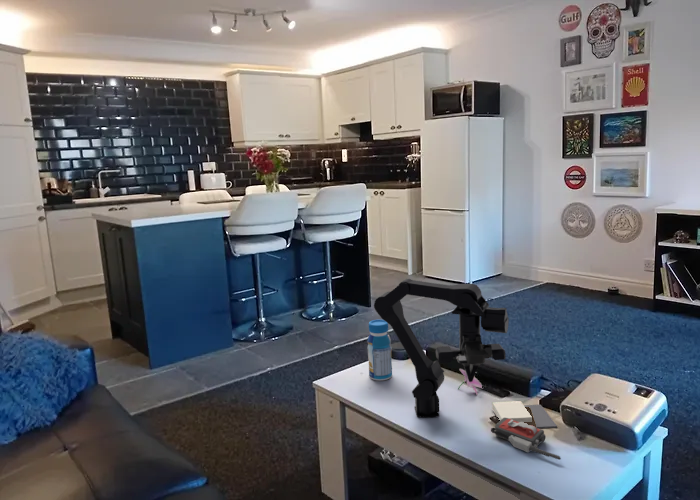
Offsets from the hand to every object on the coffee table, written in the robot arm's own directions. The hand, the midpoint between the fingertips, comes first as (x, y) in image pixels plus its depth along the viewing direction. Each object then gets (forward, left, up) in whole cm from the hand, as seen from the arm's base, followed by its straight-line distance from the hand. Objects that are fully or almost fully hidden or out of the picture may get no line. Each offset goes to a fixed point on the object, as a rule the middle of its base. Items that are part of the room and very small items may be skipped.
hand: (470, 381), depth 154 cm
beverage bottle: (-24, +34, -12) cm, 43 cm away
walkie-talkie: (+12, -14, -12) cm, 22 cm away
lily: (+4, +19, -12) cm, 23 cm away
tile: (+8, 0, -10) cm, 13 cm away
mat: (+16, 0, -12) cm, 20 cm away
